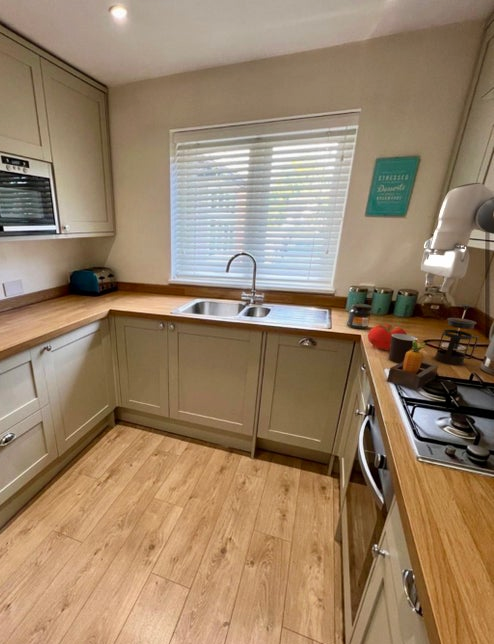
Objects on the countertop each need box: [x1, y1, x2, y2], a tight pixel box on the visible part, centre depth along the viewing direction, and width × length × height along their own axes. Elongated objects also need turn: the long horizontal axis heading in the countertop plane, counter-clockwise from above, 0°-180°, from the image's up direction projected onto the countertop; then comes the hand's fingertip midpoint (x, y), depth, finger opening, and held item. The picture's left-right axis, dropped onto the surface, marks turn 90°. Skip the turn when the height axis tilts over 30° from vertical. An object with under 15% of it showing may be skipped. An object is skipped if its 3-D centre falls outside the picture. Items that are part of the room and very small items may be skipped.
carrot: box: [403, 341, 426, 374], centre depth 110 cm, size 5×5×15 cm
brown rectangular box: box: [386, 361, 439, 392], centre depth 114 cm, size 9×16×5 cm, turn 127°
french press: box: [433, 304, 479, 366], centre depth 129 cm, size 12×9×23 cm
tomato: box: [367, 324, 408, 351], centre depth 145 cm, size 14×16×10 cm
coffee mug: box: [388, 334, 418, 364], centre depth 131 cm, size 12×9×10 cm
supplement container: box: [346, 303, 373, 330], centre depth 176 cm, size 10×10×12 cm
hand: (435, 289), depth 104 cm, fingers open, 8 cm apart
